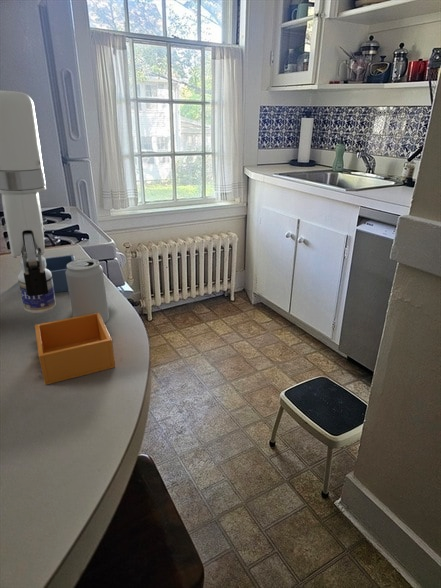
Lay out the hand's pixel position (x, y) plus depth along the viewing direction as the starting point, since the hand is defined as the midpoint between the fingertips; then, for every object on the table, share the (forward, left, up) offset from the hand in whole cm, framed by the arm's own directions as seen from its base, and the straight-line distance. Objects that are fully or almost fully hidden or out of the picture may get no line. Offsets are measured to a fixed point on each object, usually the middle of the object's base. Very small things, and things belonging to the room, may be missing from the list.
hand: (36, 286), depth 68 cm
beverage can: (+7, +3, -9) cm, 12 cm away
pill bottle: (0, 0, -4) cm, 4 cm away
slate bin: (-7, +21, -9) cm, 24 cm away
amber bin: (+9, -9, -9) cm, 15 cm away
